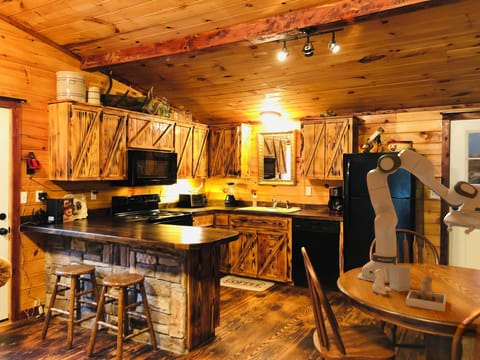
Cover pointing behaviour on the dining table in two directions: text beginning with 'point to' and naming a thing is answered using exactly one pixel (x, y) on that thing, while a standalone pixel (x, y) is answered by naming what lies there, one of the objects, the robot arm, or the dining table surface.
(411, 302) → the open box
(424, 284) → the birch peg
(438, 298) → the bore plate
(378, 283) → the seated beast figurine
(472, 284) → the dining table surface
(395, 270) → the supplement box
